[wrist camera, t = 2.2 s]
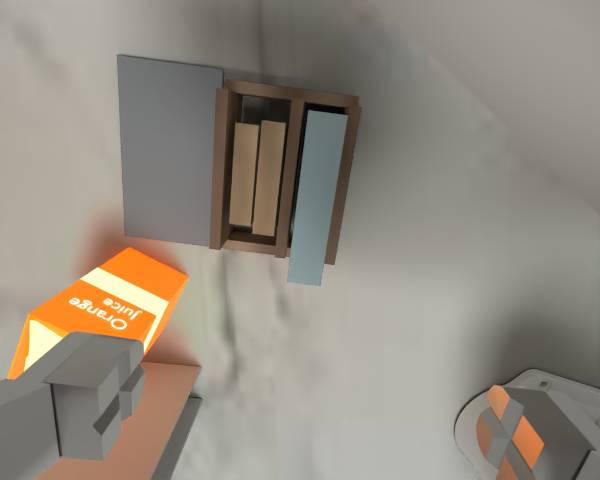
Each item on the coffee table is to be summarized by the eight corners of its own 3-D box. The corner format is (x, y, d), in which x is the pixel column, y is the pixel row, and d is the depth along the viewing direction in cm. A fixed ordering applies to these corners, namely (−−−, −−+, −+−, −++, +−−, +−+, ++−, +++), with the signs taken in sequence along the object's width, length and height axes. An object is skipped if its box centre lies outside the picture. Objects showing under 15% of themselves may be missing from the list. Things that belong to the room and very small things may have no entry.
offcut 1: (267, 125, 34) (258, 125, 29) (259, 212, 37) (250, 226, 32) (247, 123, 34) (235, 122, 29) (241, 209, 37) (229, 223, 32)
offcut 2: (290, 123, 34) (285, 123, 28) (279, 219, 37) (273, 236, 32) (270, 120, 34) (261, 120, 28) (261, 216, 37) (252, 233, 32)
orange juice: (104, 305, 42) (-72, 455, 23) (128, 245, 39) (-48, 360, 20) (163, 333, 43) (42, 500, 24) (190, 277, 40) (79, 414, 21)
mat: (224, 70, 33) (222, 69, 32) (215, 245, 39) (214, 247, 38) (120, 56, 33) (117, 55, 32) (127, 234, 38) (124, 235, 38)
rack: (355, 99, 33) (363, 93, 27) (329, 252, 38) (332, 274, 33) (233, 82, 33) (216, 74, 27) (224, 238, 38) (208, 258, 33)
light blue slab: (335, 118, 34) (347, 115, 21) (318, 233, 38) (320, 286, 25) (310, 115, 34) (308, 110, 21) (295, 230, 38) (286, 281, 25)
